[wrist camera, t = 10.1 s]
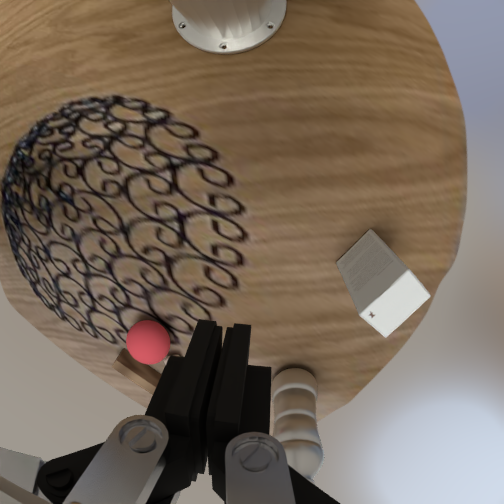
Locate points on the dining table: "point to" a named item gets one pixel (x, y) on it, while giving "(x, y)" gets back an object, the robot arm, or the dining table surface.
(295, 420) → the plastic bottle
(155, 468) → the robot arm
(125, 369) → the board
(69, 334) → the dining table surface
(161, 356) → the ball
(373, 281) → the skincare box
